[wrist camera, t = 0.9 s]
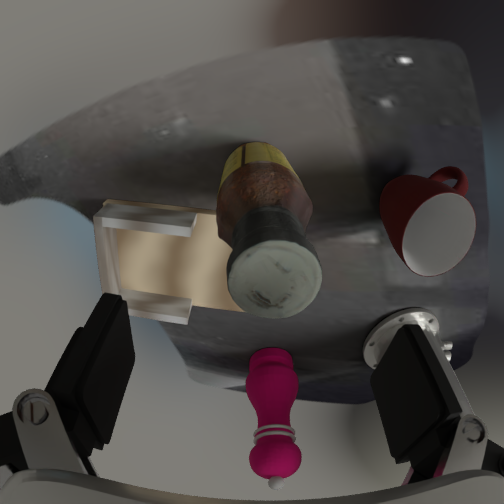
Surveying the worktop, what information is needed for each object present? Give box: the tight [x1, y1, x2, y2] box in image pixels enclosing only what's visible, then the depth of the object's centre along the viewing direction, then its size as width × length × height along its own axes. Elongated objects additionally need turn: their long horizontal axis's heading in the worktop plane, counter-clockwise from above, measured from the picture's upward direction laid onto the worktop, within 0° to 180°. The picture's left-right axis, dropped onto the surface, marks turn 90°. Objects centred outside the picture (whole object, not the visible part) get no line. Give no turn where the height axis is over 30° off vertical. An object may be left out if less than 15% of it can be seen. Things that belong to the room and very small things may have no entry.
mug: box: [379, 166, 476, 277], centre depth 26 cm, size 10×8×10 cm
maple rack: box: [93, 199, 245, 325], centre depth 33 cm, size 18×12×5 cm, turn 82°
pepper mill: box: [246, 347, 301, 490], centre depth 35 cm, size 7×7×20 cm
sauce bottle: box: [216, 142, 322, 319], centre depth 22 cm, size 7×6×20 cm
